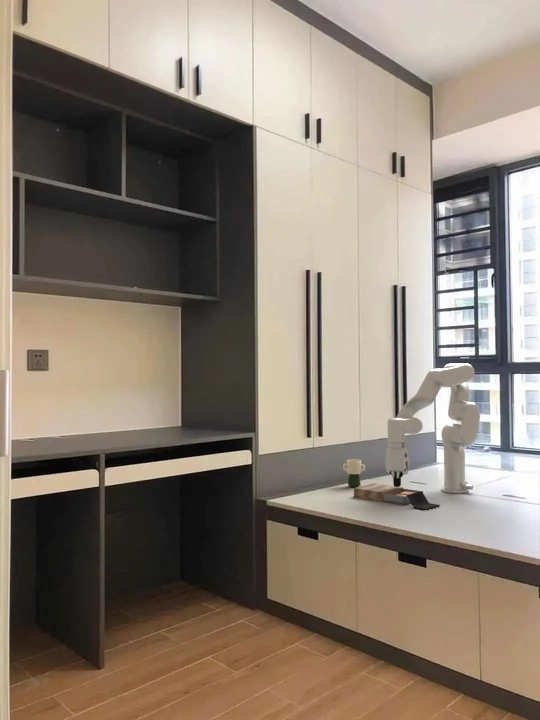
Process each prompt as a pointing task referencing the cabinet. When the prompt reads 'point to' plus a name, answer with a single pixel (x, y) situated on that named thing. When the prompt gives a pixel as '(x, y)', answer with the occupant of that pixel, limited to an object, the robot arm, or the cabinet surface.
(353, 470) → the character mug
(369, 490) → the board
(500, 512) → the cabinet surface
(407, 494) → the tile
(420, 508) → the black sloped piece
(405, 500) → the box
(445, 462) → the robot arm
